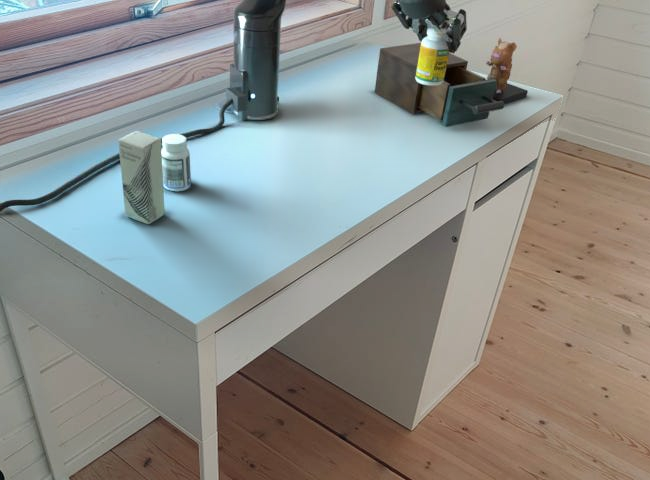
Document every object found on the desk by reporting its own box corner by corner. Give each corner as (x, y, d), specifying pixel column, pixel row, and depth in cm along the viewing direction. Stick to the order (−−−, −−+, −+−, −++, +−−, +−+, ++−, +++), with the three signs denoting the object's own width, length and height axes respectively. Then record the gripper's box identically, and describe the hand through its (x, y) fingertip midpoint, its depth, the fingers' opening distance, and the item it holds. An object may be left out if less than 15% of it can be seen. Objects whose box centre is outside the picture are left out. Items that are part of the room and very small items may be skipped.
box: (124, 216, 109) (115, 138, 101) (141, 205, 112) (134, 129, 103) (150, 226, 107) (143, 147, 99) (167, 214, 110) (162, 137, 101)
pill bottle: (177, 176, 120) (174, 130, 115) (196, 185, 118) (194, 138, 113) (157, 185, 117) (153, 138, 112) (177, 194, 115) (174, 147, 110)
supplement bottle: (426, 74, 131) (436, 20, 125) (449, 82, 128) (460, 27, 122) (408, 80, 128) (418, 25, 122) (431, 88, 125) (442, 32, 119)
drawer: (506, 128, 140) (516, 89, 135) (463, 137, 136) (472, 97, 131) (447, 97, 153) (454, 60, 147) (405, 104, 148) (411, 67, 143)
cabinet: (458, 106, 151) (468, 61, 145) (412, 114, 146) (420, 68, 140) (418, 85, 161) (425, 41, 154) (374, 92, 156) (380, 48, 150)
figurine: (463, 92, 158) (475, 37, 150) (490, 84, 163) (503, 30, 155) (499, 106, 152) (513, 49, 144) (526, 97, 157) (541, 41, 149)
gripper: (467, -32, 107) (486, 35, 121) (392, -48, 114) (418, 18, 128) (442, 10, 107) (464, 72, 122) (369, -8, 114) (397, 53, 129)
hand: (440, 44), depth 125 cm, fingers closed on supplement bottle, 5 cm apart
